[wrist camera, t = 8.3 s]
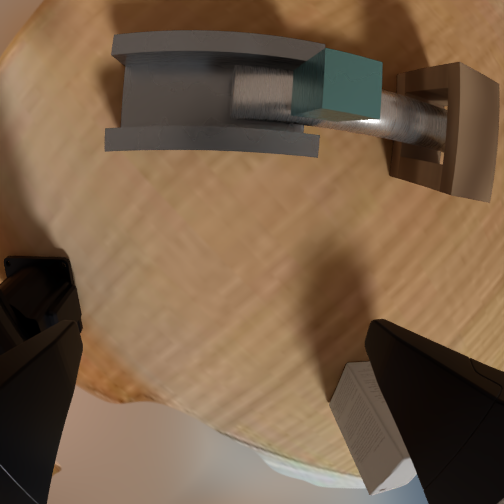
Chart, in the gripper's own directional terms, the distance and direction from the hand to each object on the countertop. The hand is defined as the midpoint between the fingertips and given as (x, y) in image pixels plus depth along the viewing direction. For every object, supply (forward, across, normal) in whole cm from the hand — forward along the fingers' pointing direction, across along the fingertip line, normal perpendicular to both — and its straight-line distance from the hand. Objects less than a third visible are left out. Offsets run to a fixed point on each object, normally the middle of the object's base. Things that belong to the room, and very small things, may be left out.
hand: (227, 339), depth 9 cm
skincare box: (+13, -14, +16) cm, 25 cm away
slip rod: (+11, -8, -8) cm, 16 cm away
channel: (+13, 0, -8) cm, 15 cm away
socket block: (+13, -14, -8) cm, 21 cm away
